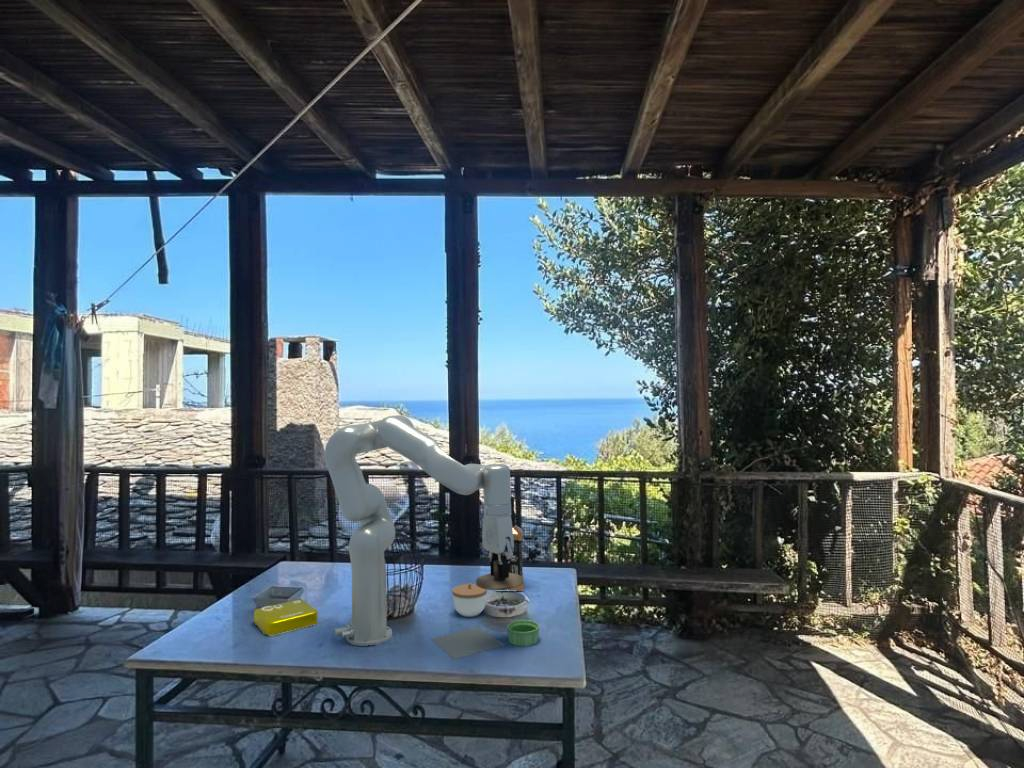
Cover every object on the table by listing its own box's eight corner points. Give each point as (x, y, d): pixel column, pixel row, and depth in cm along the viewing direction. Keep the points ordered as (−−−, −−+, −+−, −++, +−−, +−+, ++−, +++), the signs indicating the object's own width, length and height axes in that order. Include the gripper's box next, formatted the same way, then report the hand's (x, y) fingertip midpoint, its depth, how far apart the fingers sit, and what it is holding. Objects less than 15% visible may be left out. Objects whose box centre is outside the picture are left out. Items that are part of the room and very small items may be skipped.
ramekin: (502, 638, 164) (502, 622, 164) (532, 633, 167) (532, 617, 167) (513, 650, 155) (513, 634, 155) (544, 645, 158) (544, 629, 158)
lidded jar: (471, 623, 174) (471, 591, 174) (445, 615, 181) (445, 585, 181) (494, 612, 183) (493, 582, 183) (468, 605, 189) (468, 576, 189)
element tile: (267, 639, 165) (267, 622, 165) (252, 623, 177) (252, 607, 177) (319, 625, 175) (319, 609, 175) (301, 611, 186) (301, 596, 186)
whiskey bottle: (523, 592, 202) (522, 499, 203) (495, 592, 202) (494, 499, 203) (523, 582, 212) (522, 494, 213) (496, 582, 212) (495, 494, 213)
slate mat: (454, 660, 149) (454, 659, 149) (430, 640, 162) (430, 638, 162) (504, 646, 157) (504, 645, 157) (477, 628, 170) (477, 627, 170)
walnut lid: (491, 593, 152) (490, 571, 152) (467, 581, 163) (467, 560, 163) (532, 583, 159) (531, 562, 159) (507, 572, 170) (506, 552, 170)
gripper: (471, 507, 166) (473, 572, 166) (501, 515, 152) (503, 586, 152) (494, 504, 170) (496, 567, 170) (525, 512, 156) (527, 581, 156)
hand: (499, 576), depth 161 cm, fingers closed on walnut lid, 3 cm apart
